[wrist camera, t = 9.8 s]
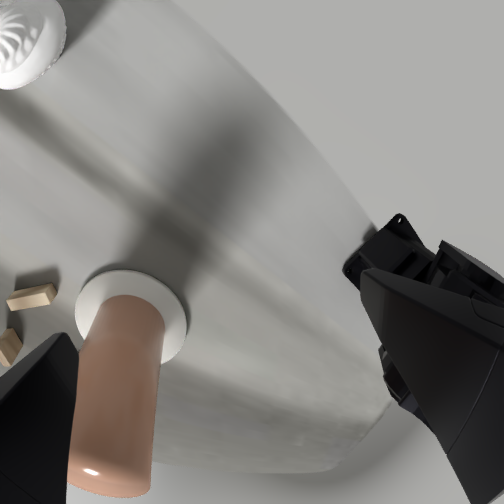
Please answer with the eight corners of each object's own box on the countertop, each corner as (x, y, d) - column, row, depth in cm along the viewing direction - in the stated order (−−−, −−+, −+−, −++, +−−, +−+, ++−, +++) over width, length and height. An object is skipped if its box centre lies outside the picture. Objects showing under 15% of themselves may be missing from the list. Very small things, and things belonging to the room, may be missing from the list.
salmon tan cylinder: (179, 323, 23) (172, 481, 12) (140, 362, 25) (119, 504, 13) (120, 280, 21) (63, 432, 10) (85, 325, 23) (31, 464, 11)
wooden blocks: (52, 282, 21) (37, 303, 19) (95, 368, 25) (88, 392, 22) (-11, 296, 21) (-27, 314, 18) (33, 373, 25) (23, 394, 22)
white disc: (210, 318, 24) (210, 322, 24) (145, 378, 26) (144, 382, 26) (114, 245, 21) (112, 248, 20) (60, 321, 23) (57, 325, 22)
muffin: (-2, 76, 15) (-64, 73, 8) (39, 0, 13) (-13, -28, 6) (55, 103, 16) (-3, 103, 10) (102, 22, 15) (59, -12, 8)
